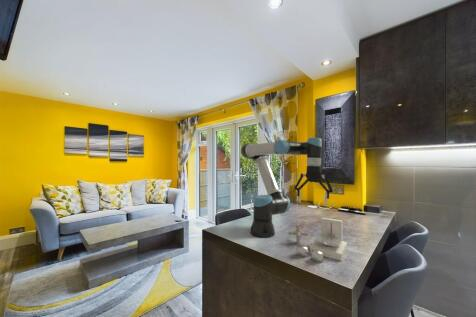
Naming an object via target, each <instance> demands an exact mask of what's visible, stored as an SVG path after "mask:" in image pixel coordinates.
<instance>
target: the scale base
mask: <svg viewBox="0 0 476 317" xmlns="http://www.w3.org/2000/svg"><path fill="white" fill-rule="evenodd" d="M343 227H344V226H343V220H341V219H334V218H329V217H321V234H324V235H329V236H334V237H339V238H342V242H341V244H340V246H339V247H335V246H331V245H327V244H322V243H318V242H314V241H313V242H312V243H311V244H310V246H309V253H311V254H312V249H318V250H321V251H323V257H326V258H329V259H333V260H337V261H343V258H344V256H345V254H346V252H347V248H348V241H344V239H343V236H344V235H343V233H344V231H343Z"/></svg>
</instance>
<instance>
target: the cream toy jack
mask: <svg viewBox="0 0 476 317" xmlns="http://www.w3.org/2000/svg"><path fill="white" fill-rule="evenodd" d="M288 234H289V235H292V236H296V241H295V242H296V244H301V236H304V237H305V236H306V237H308V236H309V235H308V234H309V233H308V231H307V232H306V231H301V224H300V223H297V224H296V229H295V230H294V231H292V230H288Z"/></svg>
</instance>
